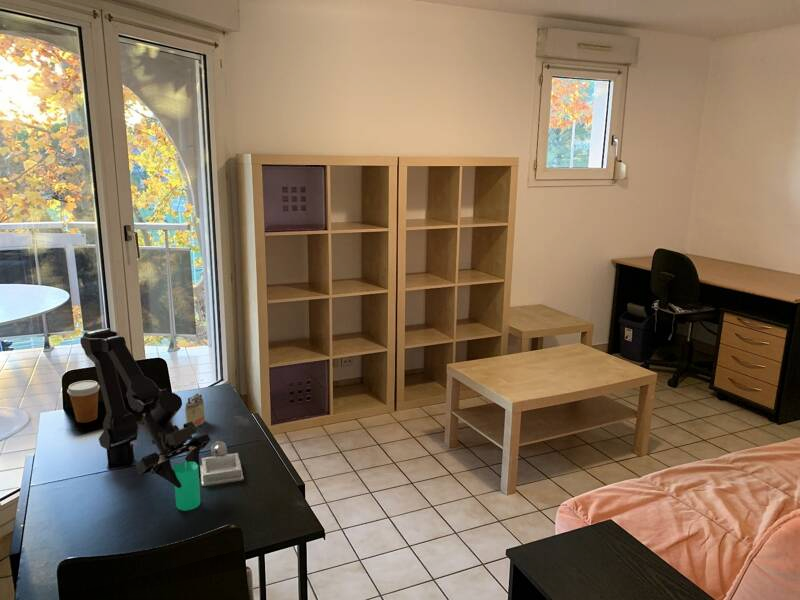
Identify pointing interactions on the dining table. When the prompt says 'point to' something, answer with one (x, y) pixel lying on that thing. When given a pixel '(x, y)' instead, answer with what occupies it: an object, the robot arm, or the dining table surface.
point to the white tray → (220, 466)
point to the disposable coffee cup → (84, 400)
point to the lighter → (195, 410)
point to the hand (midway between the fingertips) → (190, 482)
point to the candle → (187, 486)
